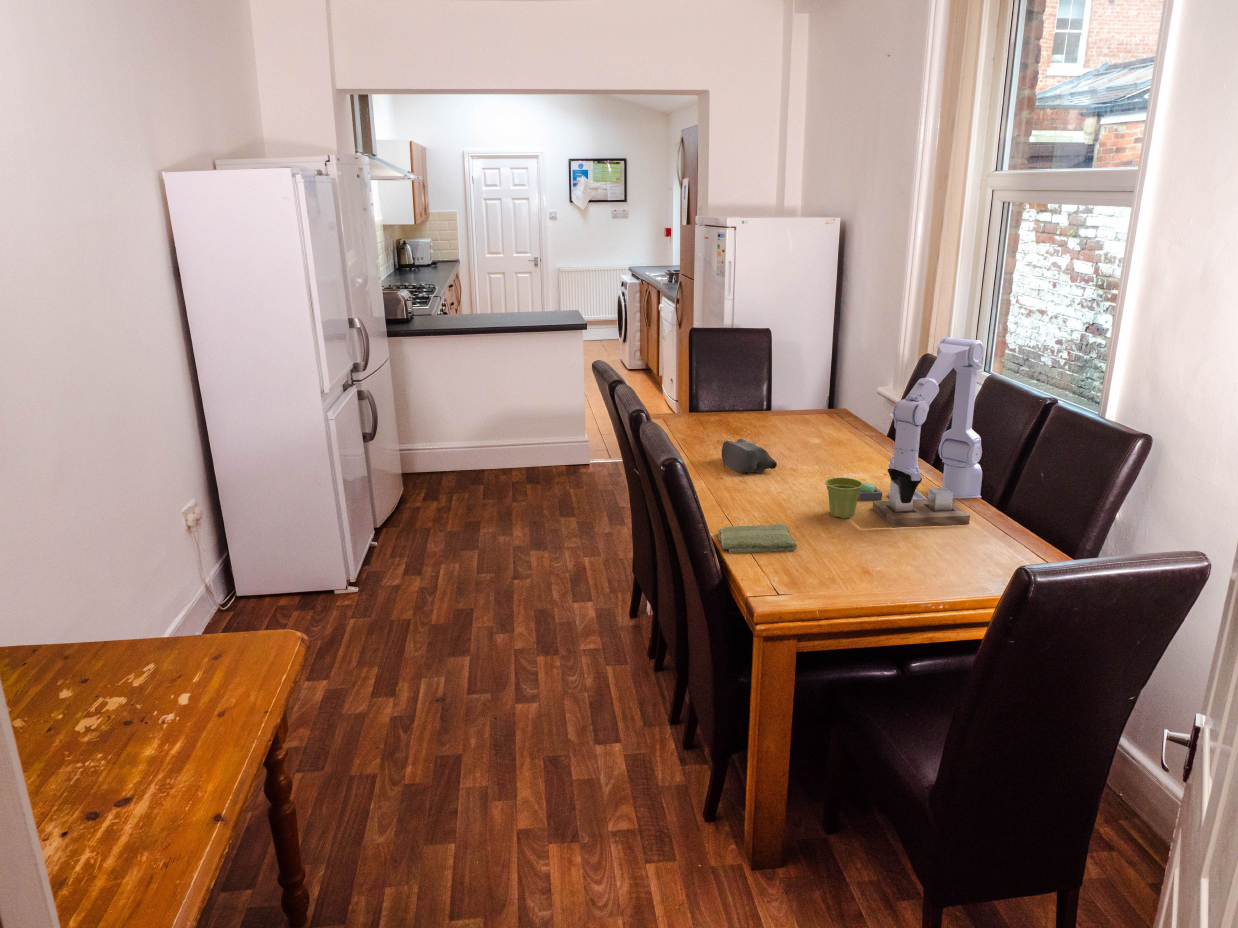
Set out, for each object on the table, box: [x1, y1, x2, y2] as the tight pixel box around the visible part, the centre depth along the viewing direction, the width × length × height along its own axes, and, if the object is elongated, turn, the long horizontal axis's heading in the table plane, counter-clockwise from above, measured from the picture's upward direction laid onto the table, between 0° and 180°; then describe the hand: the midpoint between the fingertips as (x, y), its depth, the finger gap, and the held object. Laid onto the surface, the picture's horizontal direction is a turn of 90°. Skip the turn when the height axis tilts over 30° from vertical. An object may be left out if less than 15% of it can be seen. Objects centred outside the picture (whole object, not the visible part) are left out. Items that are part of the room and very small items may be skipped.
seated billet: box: [927, 487, 954, 512], centre depth 222 cm, size 4×4×7 cm
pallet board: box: [871, 498, 971, 529], centre depth 222 cm, size 20×13×2 cm, turn 95°
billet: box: [888, 479, 914, 512], centre depth 220 cm, size 4×4×7 cm
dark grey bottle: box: [721, 438, 778, 474], centre depth 264 cm, size 18×11×8 cm, turn 25°
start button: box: [861, 482, 876, 492], centre depth 237 cm, size 4×4×3 cm
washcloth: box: [717, 523, 798, 554], centre depth 207 cm, size 13×18×3 cm
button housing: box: [858, 486, 883, 502], centre depth 237 cm, size 6×6×2 cm
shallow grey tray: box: [887, 489, 928, 500], centre depth 235 cm, size 8×7×2 cm
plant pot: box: [824, 477, 863, 519], centre depth 224 cm, size 9×9×9 cm
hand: (902, 499), depth 221 cm, fingers closed on billet, 4 cm apart
